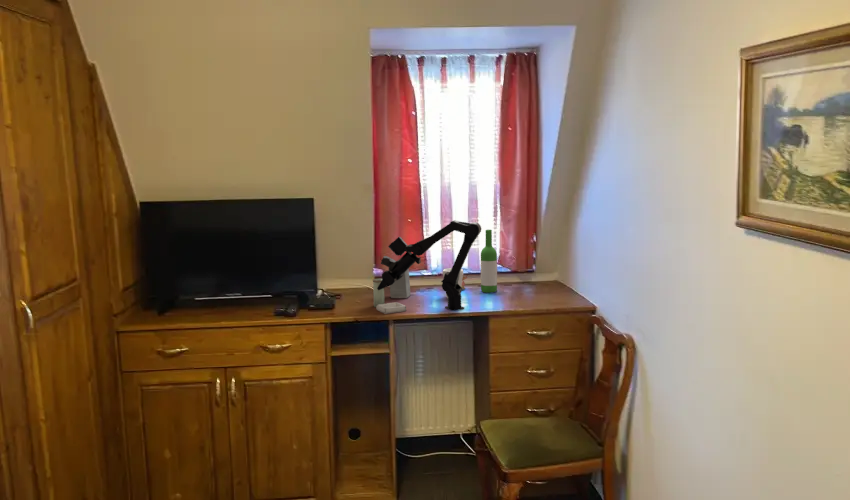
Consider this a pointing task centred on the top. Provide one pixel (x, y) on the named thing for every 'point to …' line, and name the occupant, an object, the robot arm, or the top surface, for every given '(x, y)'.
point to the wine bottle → (488, 266)
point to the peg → (378, 293)
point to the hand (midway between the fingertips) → (380, 287)
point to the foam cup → (459, 276)
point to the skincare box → (401, 287)
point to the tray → (391, 308)
